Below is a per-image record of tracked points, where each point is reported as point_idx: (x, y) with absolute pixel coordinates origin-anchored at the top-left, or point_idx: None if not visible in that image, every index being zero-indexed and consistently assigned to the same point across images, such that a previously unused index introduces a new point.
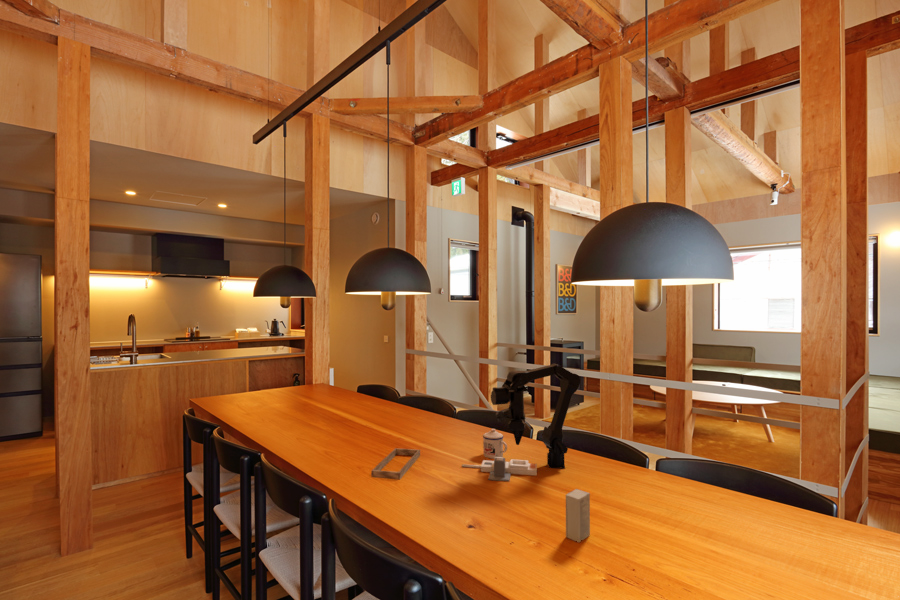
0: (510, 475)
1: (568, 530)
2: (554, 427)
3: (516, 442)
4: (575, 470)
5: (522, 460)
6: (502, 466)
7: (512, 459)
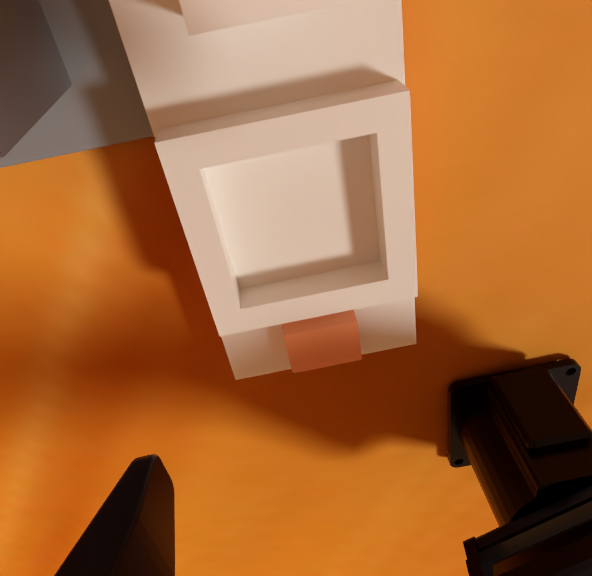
0: (88, 145)
1: None
2: None
3: (112, 512)
4: (433, 502)
5: (398, 243)
6: None
7: (403, 119)
